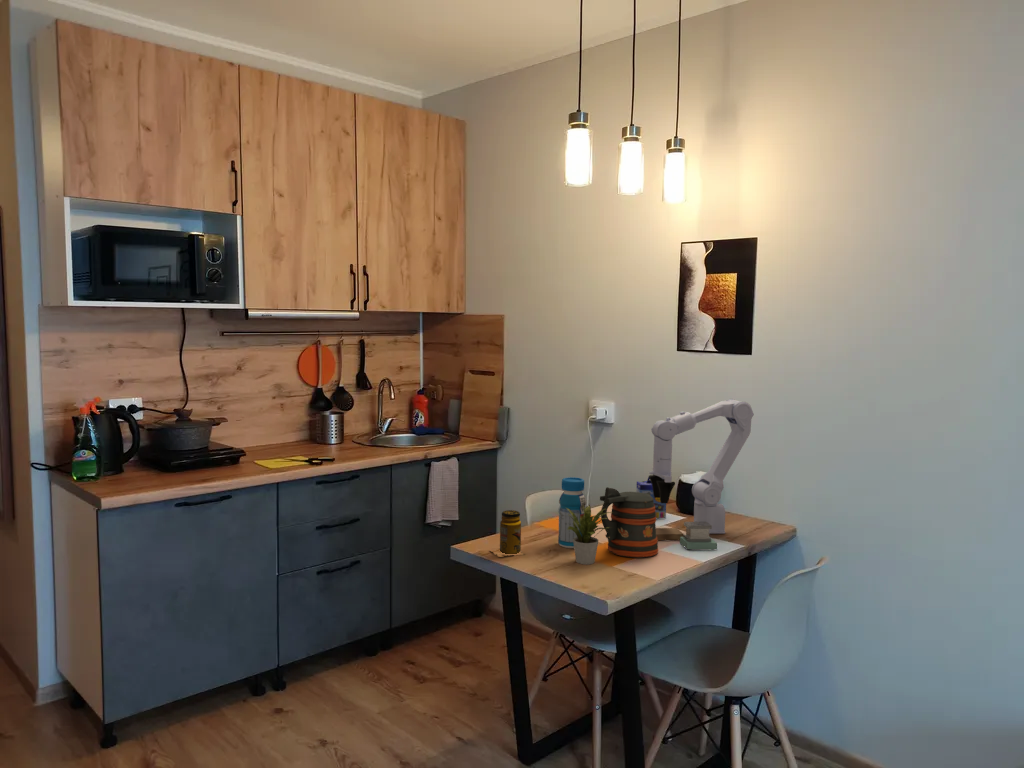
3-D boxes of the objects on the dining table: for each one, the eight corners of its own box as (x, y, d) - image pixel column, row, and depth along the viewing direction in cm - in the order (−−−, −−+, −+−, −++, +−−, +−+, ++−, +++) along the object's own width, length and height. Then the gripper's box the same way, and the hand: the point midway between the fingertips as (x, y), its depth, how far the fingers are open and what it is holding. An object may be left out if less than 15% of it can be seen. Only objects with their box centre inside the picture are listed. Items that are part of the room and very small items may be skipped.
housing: (706, 537, 226) (706, 521, 226) (711, 542, 222) (711, 525, 221) (683, 538, 225) (684, 521, 225) (688, 542, 221) (688, 525, 221)
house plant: (622, 568, 202) (624, 509, 201) (575, 572, 198) (576, 512, 197) (601, 553, 216) (602, 497, 214) (556, 556, 212) (557, 500, 210)
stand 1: (676, 534, 237) (676, 527, 237) (683, 540, 230) (683, 534, 230) (648, 534, 236) (649, 528, 236) (654, 540, 229) (655, 534, 229)
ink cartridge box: (638, 519, 255) (640, 477, 254) (634, 515, 260) (635, 474, 259) (666, 518, 256) (668, 477, 255) (662, 514, 261) (663, 474, 260)
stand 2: (708, 542, 228) (709, 536, 228) (717, 549, 221) (717, 543, 221) (680, 543, 227) (680, 536, 227) (687, 550, 220) (687, 543, 220)
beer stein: (622, 565, 205) (623, 493, 204) (585, 551, 217) (587, 484, 215) (668, 553, 217) (670, 485, 215) (631, 541, 228) (633, 477, 227)
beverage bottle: (563, 550, 218) (564, 482, 217) (553, 541, 226) (555, 477, 225) (590, 548, 221) (591, 481, 219) (579, 540, 229) (581, 475, 227)
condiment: (525, 554, 213) (526, 513, 212) (498, 558, 210) (499, 516, 209) (515, 548, 220) (515, 508, 219) (488, 551, 216) (489, 510, 215)
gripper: (644, 454, 244) (642, 495, 245) (656, 462, 230) (654, 505, 231) (665, 454, 245) (663, 495, 246) (678, 462, 230) (677, 505, 231)
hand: (660, 500), depth 238 cm, fingers open, 7 cm apart
